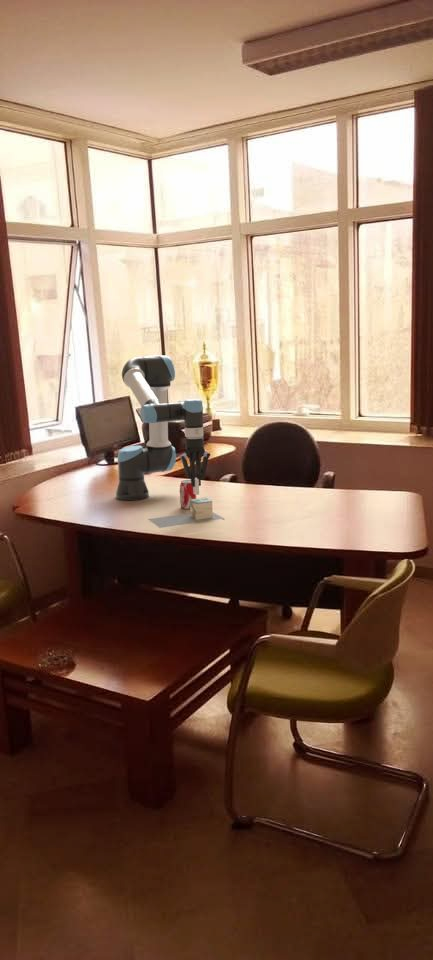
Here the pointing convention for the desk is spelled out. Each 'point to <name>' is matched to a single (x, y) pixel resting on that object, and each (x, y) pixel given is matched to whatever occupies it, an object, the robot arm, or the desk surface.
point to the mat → (180, 520)
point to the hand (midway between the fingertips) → (196, 494)
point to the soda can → (186, 494)
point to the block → (201, 508)
